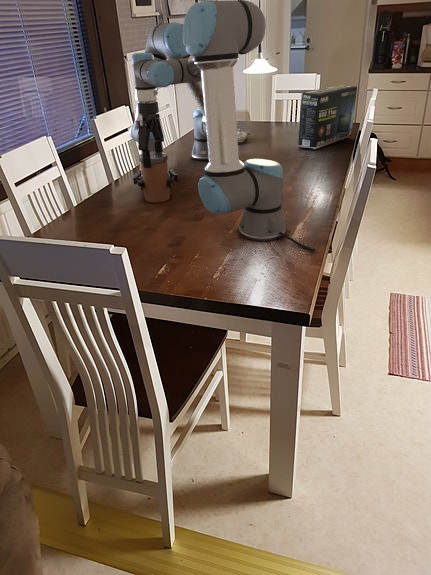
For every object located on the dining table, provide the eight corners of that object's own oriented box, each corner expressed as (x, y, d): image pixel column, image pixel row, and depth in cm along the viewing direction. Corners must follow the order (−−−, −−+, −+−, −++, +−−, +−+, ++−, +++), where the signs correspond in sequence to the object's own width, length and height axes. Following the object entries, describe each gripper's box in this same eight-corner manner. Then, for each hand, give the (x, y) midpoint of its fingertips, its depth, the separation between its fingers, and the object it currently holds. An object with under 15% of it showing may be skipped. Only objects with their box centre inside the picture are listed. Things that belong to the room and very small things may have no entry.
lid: (133, 160, 174) (132, 155, 173) (156, 154, 180) (155, 149, 179) (150, 165, 167) (150, 160, 166) (173, 159, 173) (173, 154, 172)
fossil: (241, 138, 244) (222, 120, 247) (230, 154, 251) (212, 137, 254) (257, 136, 258) (239, 120, 261) (247, 152, 264) (229, 136, 267)
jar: (154, 192, 187) (149, 152, 179) (174, 195, 183) (171, 154, 175) (139, 200, 179) (134, 159, 171) (161, 203, 175) (156, 161, 167)
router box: (314, 151, 231) (318, 94, 217) (296, 148, 237) (299, 92, 224) (352, 138, 251) (358, 85, 238) (335, 135, 258) (340, 83, 245)
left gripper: (183, 175, 196) (186, 192, 177) (129, 179, 194) (127, 197, 175) (181, 158, 192) (184, 173, 173) (127, 161, 190) (124, 178, 171)
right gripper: (143, 107, 152) (150, 173, 164) (169, 96, 171) (174, 155, 182) (122, 107, 154) (131, 171, 166) (150, 96, 173) (156, 154, 184)
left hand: (155, 185), depth 174 cm, fingers closed on jar, 10 cm apart
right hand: (153, 163), depth 174 cm, fingers closed on lid, 11 cm apart
